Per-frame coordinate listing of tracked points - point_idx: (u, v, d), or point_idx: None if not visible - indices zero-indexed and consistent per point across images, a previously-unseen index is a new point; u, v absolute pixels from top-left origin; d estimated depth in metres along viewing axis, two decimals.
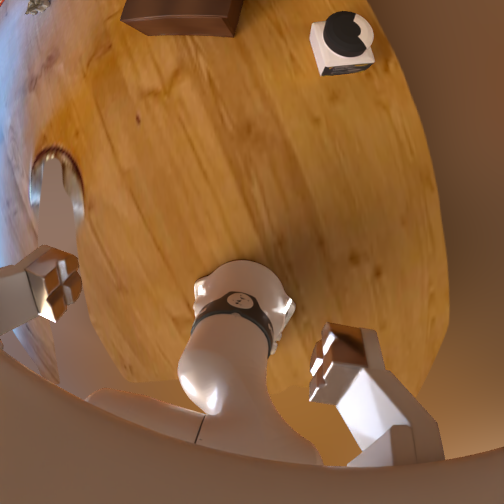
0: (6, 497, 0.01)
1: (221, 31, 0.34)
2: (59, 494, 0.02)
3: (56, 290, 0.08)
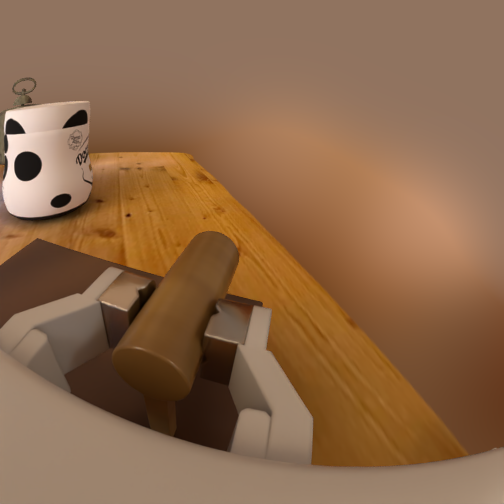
0: (5, 497, 0.01)
1: None
2: (59, 494, 0.02)
3: None
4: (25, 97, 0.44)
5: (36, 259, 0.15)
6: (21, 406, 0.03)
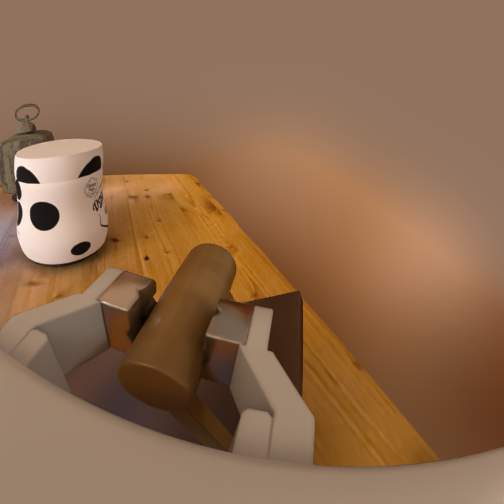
0: (5, 496, 0.01)
1: None
2: (59, 494, 0.02)
3: (134, 320, 0.07)
4: (28, 125, 0.46)
5: None
6: (21, 406, 0.03)
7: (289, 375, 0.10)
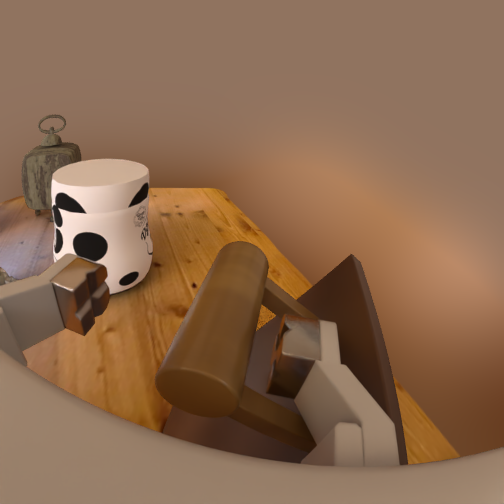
0: (5, 497, 0.01)
1: None
2: (59, 494, 0.02)
3: (84, 302, 0.07)
4: (54, 138, 0.48)
5: None
6: (21, 406, 0.03)
7: (365, 338, 0.09)
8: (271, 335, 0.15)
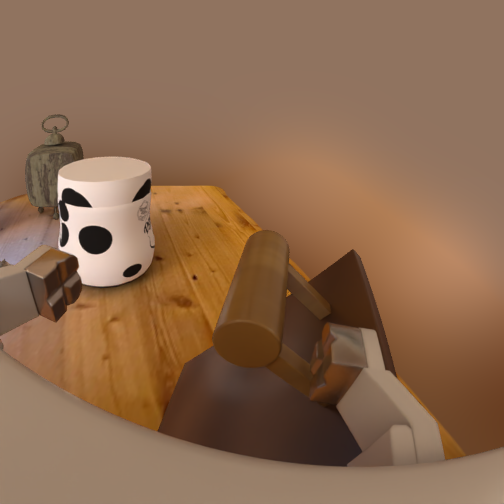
0: (5, 497, 0.01)
1: None
2: (59, 494, 0.02)
3: (55, 290, 0.08)
4: (57, 137, 0.50)
5: (192, 374, 0.20)
6: (21, 406, 0.03)
7: (366, 315, 0.11)
8: None
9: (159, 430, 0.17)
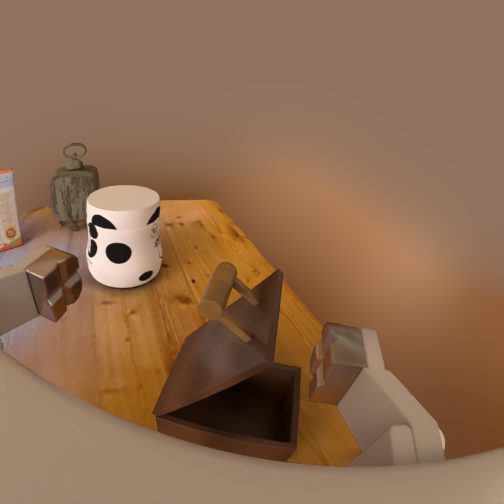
0: (5, 497, 0.01)
1: None
2: (59, 494, 0.02)
3: (56, 290, 0.08)
4: (77, 162, 0.64)
5: (190, 341, 0.34)
6: (21, 406, 0.03)
7: (271, 303, 0.25)
8: (238, 305, 0.31)
9: (169, 375, 0.31)
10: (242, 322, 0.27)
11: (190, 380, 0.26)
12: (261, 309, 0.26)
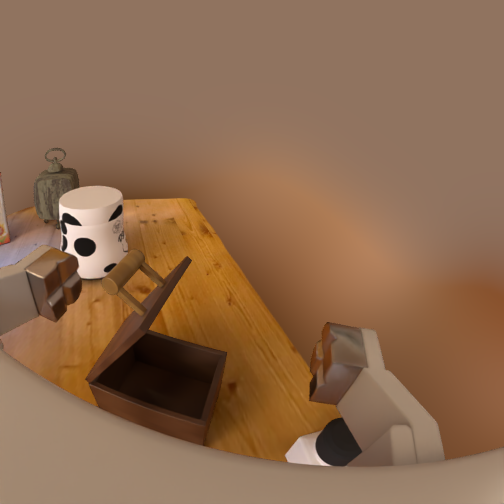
0: (5, 497, 0.01)
1: (192, 441, 0.32)
2: (59, 494, 0.02)
3: (56, 290, 0.08)
4: (57, 166, 0.67)
5: (125, 321, 0.37)
6: (21, 406, 0.03)
7: (166, 284, 0.28)
8: (156, 288, 0.34)
9: (105, 349, 0.34)
10: (149, 301, 0.30)
11: (109, 350, 0.29)
12: (160, 290, 0.29)
